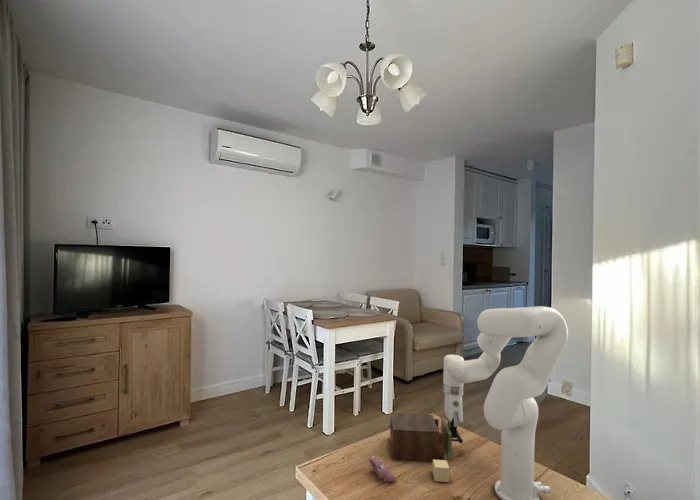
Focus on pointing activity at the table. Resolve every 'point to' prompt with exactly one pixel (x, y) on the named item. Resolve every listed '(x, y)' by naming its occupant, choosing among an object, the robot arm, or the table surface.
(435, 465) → the block
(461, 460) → the table surface
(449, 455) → the drawer
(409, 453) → the cabinet
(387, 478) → the pink rounded piece
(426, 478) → the table surface
